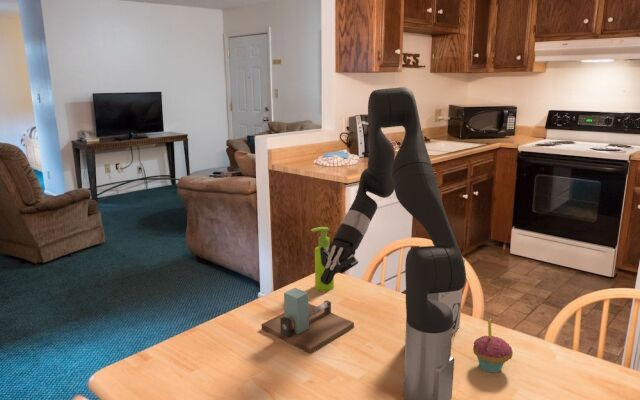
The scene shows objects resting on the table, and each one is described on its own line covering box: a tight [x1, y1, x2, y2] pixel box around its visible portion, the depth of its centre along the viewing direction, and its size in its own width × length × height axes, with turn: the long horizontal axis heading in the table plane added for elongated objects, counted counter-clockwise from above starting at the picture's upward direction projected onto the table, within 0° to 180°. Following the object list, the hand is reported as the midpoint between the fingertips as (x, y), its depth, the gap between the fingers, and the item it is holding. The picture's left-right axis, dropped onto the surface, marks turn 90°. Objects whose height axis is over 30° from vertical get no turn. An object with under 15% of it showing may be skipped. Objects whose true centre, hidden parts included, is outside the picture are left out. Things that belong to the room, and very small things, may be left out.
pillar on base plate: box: [261, 299, 355, 355], centre depth 130 cm, size 18×17×6 cm
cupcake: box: [472, 315, 513, 374], centre depth 111 cm, size 9×8×12 cm
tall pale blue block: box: [283, 287, 309, 334], centre depth 126 cm, size 5×4×10 cm
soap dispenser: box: [310, 226, 335, 292], centre depth 152 cm, size 6×7×20 cm
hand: (324, 283), depth 133 cm, fingers closed
